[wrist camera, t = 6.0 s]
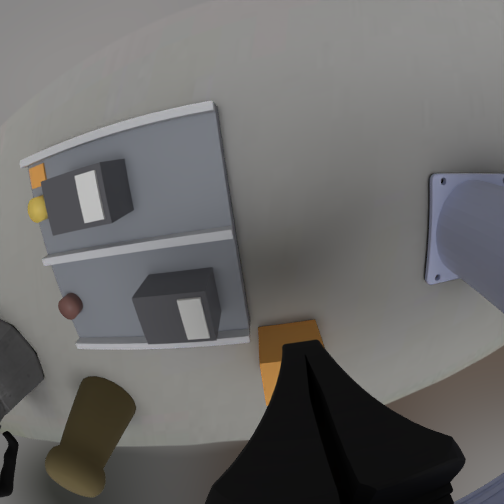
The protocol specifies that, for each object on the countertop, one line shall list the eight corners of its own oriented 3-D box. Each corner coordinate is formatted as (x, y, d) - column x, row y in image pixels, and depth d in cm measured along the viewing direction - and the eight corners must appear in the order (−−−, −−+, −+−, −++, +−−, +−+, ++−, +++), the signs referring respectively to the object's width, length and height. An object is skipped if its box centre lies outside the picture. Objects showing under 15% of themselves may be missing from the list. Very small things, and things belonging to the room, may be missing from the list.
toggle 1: (124, 158, 15) (98, 162, 12) (134, 209, 16) (110, 224, 13) (69, 174, 15) (38, 182, 12) (79, 221, 16) (51, 236, 13)
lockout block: (314, 318, 20) (326, 354, 16) (315, 360, 21) (325, 397, 18) (258, 326, 20) (259, 363, 16) (264, 367, 22) (266, 405, 18)
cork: (71, 373, 22) (21, 457, 12) (123, 378, 22) (79, 480, 12) (95, 414, 24) (60, 493, 14) (144, 420, 24) (117, 511, 14)
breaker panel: (217, 106, 15) (211, 99, 13) (250, 322, 20) (250, 344, 18) (39, 157, 16) (17, 161, 13) (89, 332, 20) (76, 350, 18)
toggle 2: (212, 266, 17) (204, 292, 14) (221, 311, 18) (216, 342, 15) (148, 274, 17) (130, 299, 14) (161, 316, 18) (147, 345, 15)
